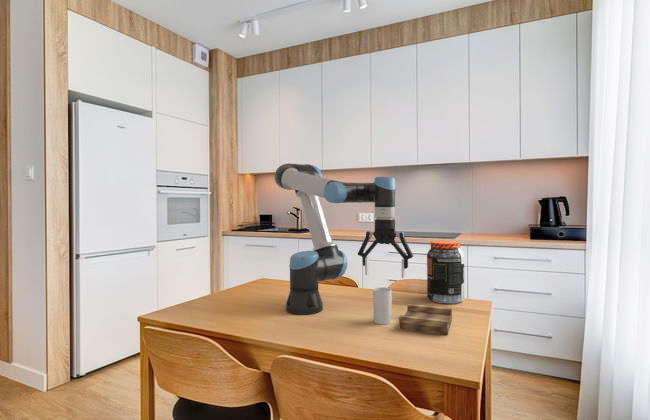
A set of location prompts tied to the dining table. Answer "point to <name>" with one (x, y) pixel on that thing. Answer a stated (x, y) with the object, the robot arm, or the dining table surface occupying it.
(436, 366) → the dining table surface
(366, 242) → the robot arm
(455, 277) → the supplement tub
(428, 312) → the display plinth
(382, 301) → the mug
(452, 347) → the dining table surface
